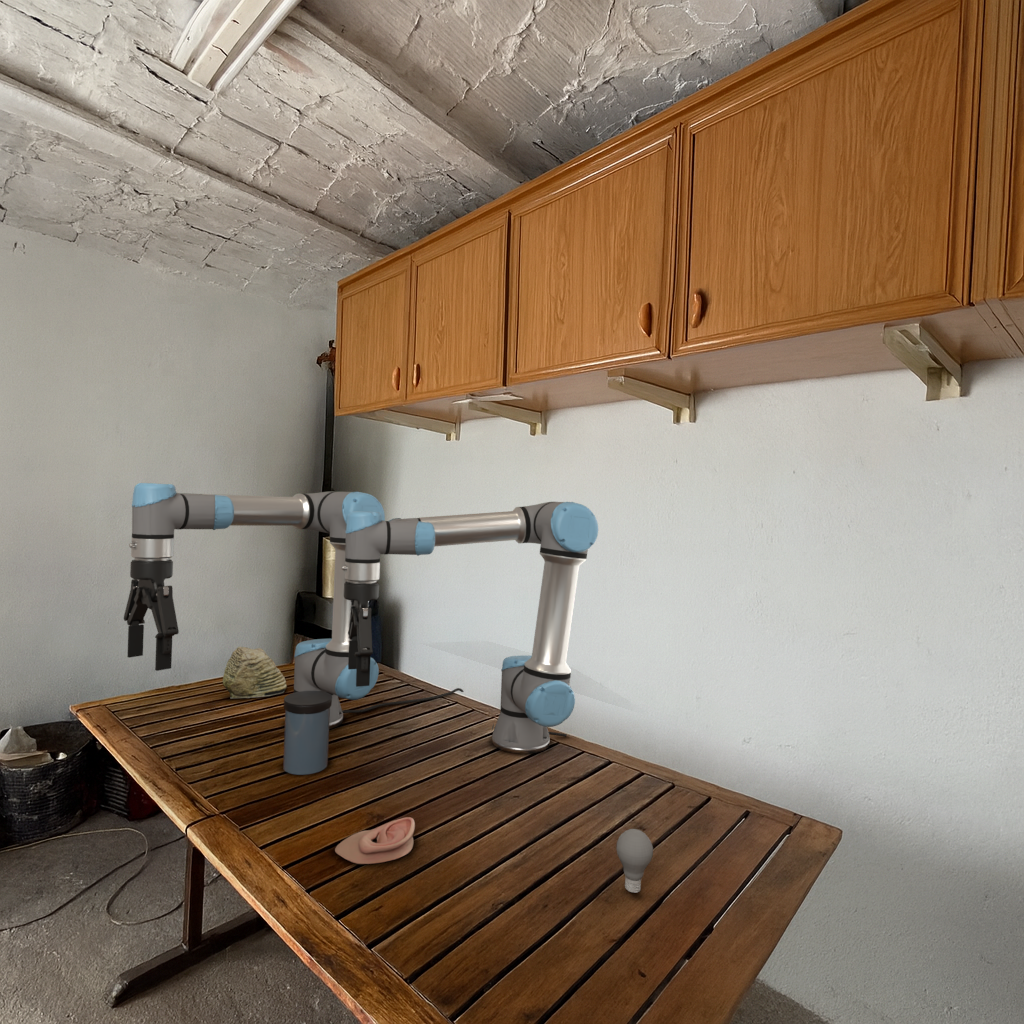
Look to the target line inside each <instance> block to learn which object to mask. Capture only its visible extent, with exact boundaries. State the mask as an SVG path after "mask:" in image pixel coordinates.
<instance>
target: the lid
mask: <svg viewBox="0 0 1024 1024" xmlns="http://www.w3.org/2000/svg"><path fill="white" fill-rule="evenodd" d="M331 705H332V695H331V694H329V693H327V692H323V691H300V692H295V693H294V692H292V693H289V694H287V695H286V696H285V697H284V699H283V709H284V711H285V710H286V711H288V712H292V713H299V714H309V713H317V712H321V711H324V710H327V709H329V708H330V707H331Z"/></svg>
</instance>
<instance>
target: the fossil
mask: <svg viewBox="0 0 1024 1024" xmlns="http://www.w3.org/2000/svg"><path fill="white" fill-rule="evenodd" d="M222 676H223V677H222V685H223V687H224V688H225V690H226V691H228V693H229V698H230V699H250V698H264V697H271V696H275V695H281V694H284V693H285V691H286V689H287V687H288V686H287V680H286V678H285V676H284V674H283V673H282V672H281V669H279V668H278V667H277V665H276V663H275V662H274V660H273V659H272V658H271V657H270V656H269V655H268V654H267V653H266V652H265V650H264V649H263V648H260V647H258V648H251V647H247V646H246V647H245V646H238V647H237V648H236V649H235V650H233V651H232V653H231V656H230V657H229V659H228V660H227V663H226V666H225V668H224V671H223V675H222Z"/></svg>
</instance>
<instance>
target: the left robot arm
mask: <svg viewBox="0 0 1024 1024" xmlns="http://www.w3.org/2000/svg"><path fill="white" fill-rule="evenodd" d="M352 511H368V512H380V513H381V515H382V520H383V521H386V516H385V515H386V513H385V511H384V508H383V505H382V503H381V502H380V501H379V500H378V498H377V497H375V495H373V494H370V493H367V492H363V491H362V492H361V491H337V490H336V491H335V490H333V491H332V490H330V491H321V492H311V493H295V494H294V495H293V496H276V495H275V496H274V495H273V496H272V495H248V494H247V495H246V494H244V495H243V494H220V493H219V494H218V493H217V494H216V493H215V494H214V493H189V492H187V493H186V492H177V491H176V486H175V485H174V484H173V483H152V482H139V483H137V484H136V485H135V486H134V488H133V492H132V501H131V520H132V521H131V542H130V543H128V547H129V548H130V549H131V550H130V556H131V558H133V559H132V560H131V561H130V567H129V568H130V571H129V574H130V575H129V576H130V578H131V581H130V590H129V594H128V598H127V603H126V607H125V610H124V615H123V621H124V622H126V624H127V626H128V629H127V630H128V631H127V658H135V657H142V656H144V635H145V634H144V630H145V625H144V624H145V623H146V621H145V619H144V618H145V616H146V615H147V612H148V609H149V610H151V613H152V618H153V620H154V624H155V627H156V631H157V633H156V635H155V636H154V638H155V661H154V663H155V665H154V668H155V669H154V670H155V671H157V672H159V671H164V670H169V669H172V659H173V657H172V655H173V637H175V636H176V635H179V632H180V631H179V625H178V619H177V615H176V614H177V613H176V609H175V603H174V597H173V595H174V593H173V585H165V580H167V579H171V578H172V577H173V575H174V573H173V572H174V561H173V560H172V559H171V558H173V557H174V554H175V553H174V552H175V530H213V531H215V530H224V529H228V528H230V526H233V527H234V526H237V527H238V526H240V527H243V526H246V527H247V526H249V527H250V526H258V527H259V526H268V527H269V526H276V527H277V526H282V527H284V526H285V527H286V526H287V527H288V526H289V527H290V526H291V527H293V528H294V529H296V530H308V531H309V530H310V531H316V532H319V533H325V534H329V544H330V545H331V546H332V547H333V548H334V550H335V551H334V572H333V573H334V577H333V599H332V625H331V626H332V627H331V638H317V639H308V640H304V641H300V642H299V643H297V645H296V646H295V650H294V655H293V657H294V672H293V673H294V674H293V693H295V692H300V691H323V692H327V693H329V694H331V695H332V705H331V707H330V720H329V730H332V729H335V728H337V727H339V726H340V725H342V723H343V722H344V714H360V713H365V712H368V711H371V710H374V709H377V708H380V707H385V706H393V705H402V704H409V703H416V702H424V701H431V700H436V699H439V698H443V697H446V696H450V695H453V694H454V693H456V692H460V693H464V691H465V690H464V689H462V688H460V687H456V688H454V689H452V690H450V691H449V692H444V693H442V694H441V693H440V694H438V695H437V694H436V695H431V696H428V697H421V698H413V699H407V700H397V701H390V702H389V701H388V702H383V703H378V704H375V705H372V706H369V707H366V708H363V709H342V706H341V702H340V699H339V698H341V699H342V700H343V699H344V700H348V701H349V700H350V701H357V700H360V699H362V698H364V697H365V696H367V695H368V694H370V692H371V690H372V689H374V687H375V685H376V683H377V682H378V678H379V674H380V672H379V671H380V670H379V669H380V668H379V665H378V663H377V662H376V660H375V659H374V657H370V684H369V686H358V687H356V670H357V669H348V659H349V641H351V640H349V635H348V631H349V622H350V612H351V610H350V609H351V600H347V599H345V598H344V583H345V582H347V580H346V579H345V571H346V570H342V567H343V566H346V564H345V545H346V526H347V516H348V514H349V513H350V512H352Z"/></svg>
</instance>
